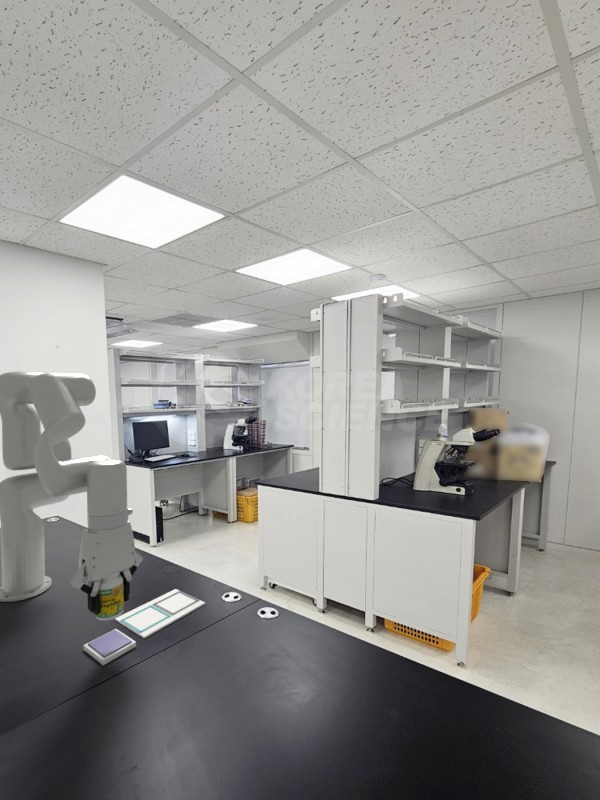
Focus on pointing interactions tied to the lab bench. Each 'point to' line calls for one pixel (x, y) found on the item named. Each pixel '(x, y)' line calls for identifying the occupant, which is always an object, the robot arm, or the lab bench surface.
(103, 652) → the ink pad
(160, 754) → the lab bench surface
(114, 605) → the supplement bottle
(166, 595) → the print sheet
